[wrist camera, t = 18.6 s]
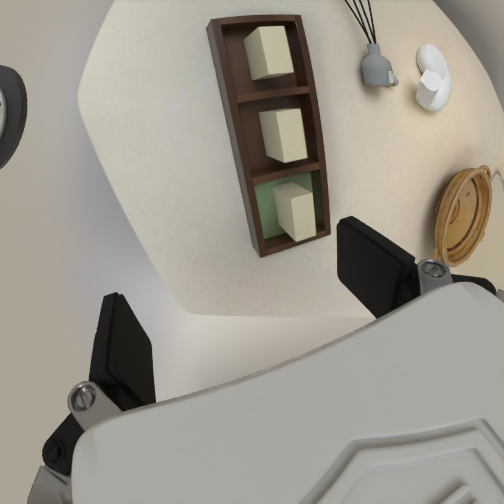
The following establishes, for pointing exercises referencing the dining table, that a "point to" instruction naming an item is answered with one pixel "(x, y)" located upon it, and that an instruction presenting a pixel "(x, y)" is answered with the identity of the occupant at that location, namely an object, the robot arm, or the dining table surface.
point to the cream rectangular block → (295, 210)
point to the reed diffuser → (374, 58)
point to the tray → (250, 133)
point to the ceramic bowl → (462, 215)
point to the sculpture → (433, 78)
